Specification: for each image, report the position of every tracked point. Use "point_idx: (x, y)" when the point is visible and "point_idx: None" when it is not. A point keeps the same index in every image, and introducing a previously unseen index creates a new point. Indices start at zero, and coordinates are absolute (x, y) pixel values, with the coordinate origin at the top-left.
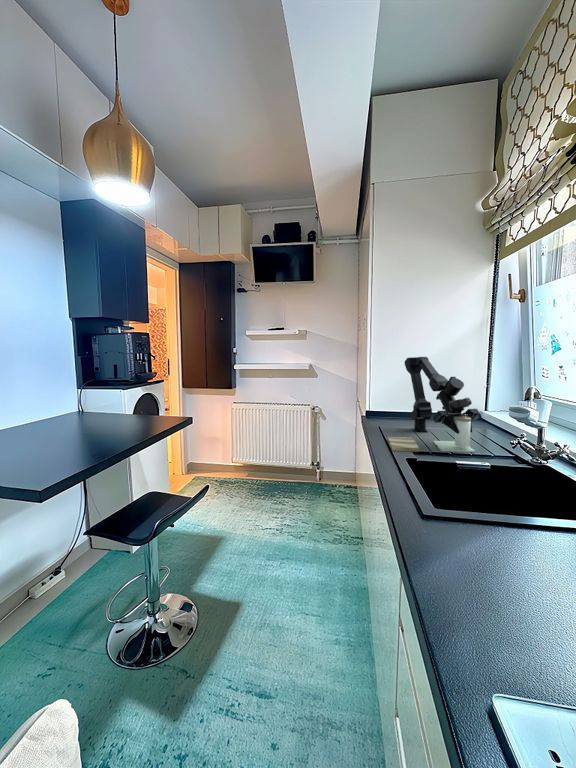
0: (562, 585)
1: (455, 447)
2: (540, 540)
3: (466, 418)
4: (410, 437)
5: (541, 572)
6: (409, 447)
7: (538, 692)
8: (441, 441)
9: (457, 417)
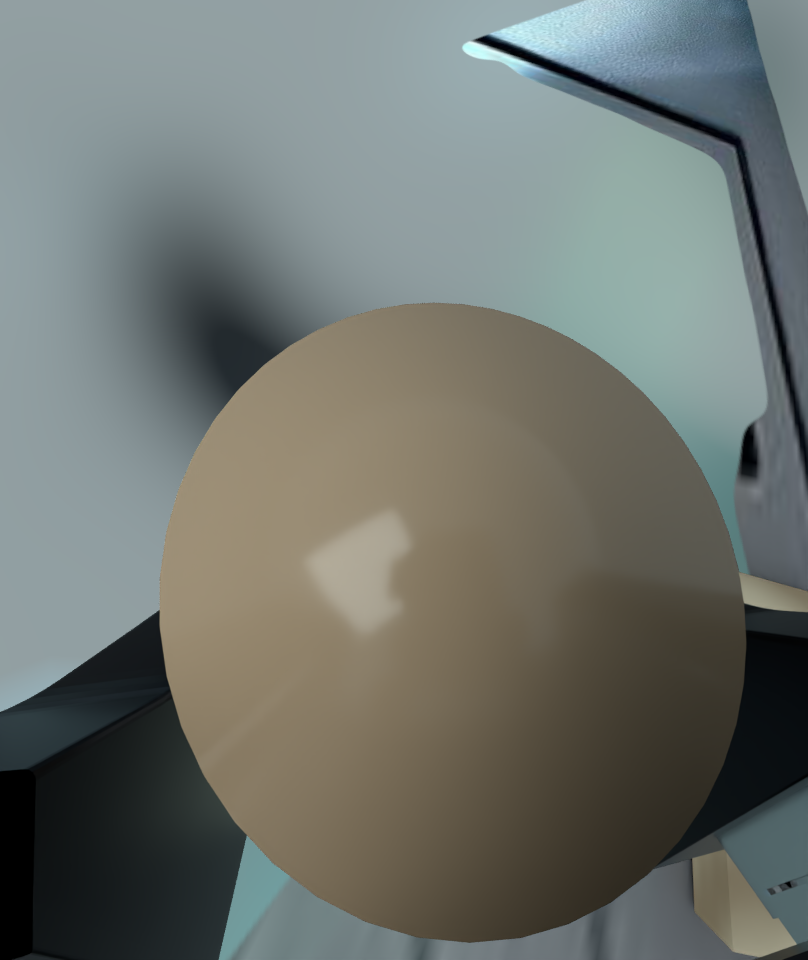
0: (591, 3)
1: None
2: (555, 43)
3: (460, 364)
4: (750, 950)
5: (602, 18)
6: (769, 592)
7: None
8: None
9: (695, 564)
